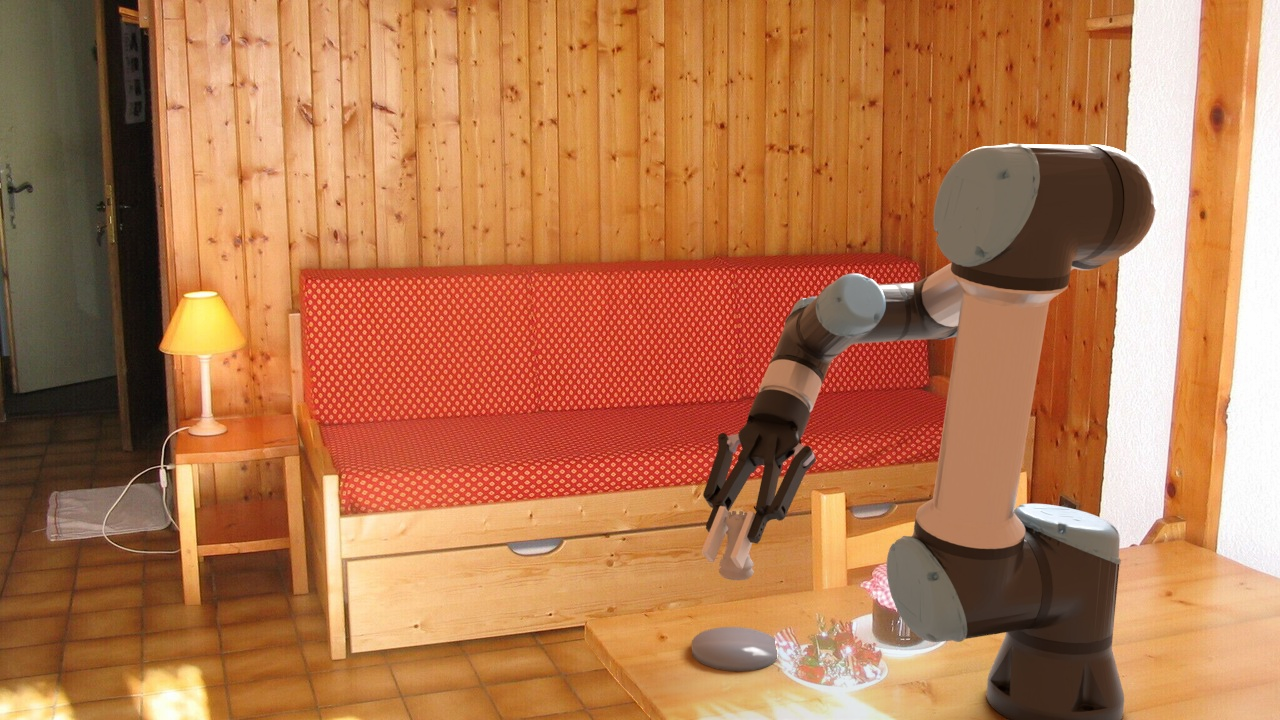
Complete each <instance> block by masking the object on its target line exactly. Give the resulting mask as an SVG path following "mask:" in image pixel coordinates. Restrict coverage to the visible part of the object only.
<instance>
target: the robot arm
mask: <svg viewBox="0 0 1280 720" xmlns="http://www.w3.org/2000/svg"><path fill="white" fill-rule="evenodd" d="M1156 211H1157V197H1156V191H1155V187H1154V184H1153V182H1152V179H1151V177H1150V175H1149V173H1148V172H1147V171H1146V169H1145V168H1144V166H1142V165H1141V163H1139V162H1138V161H1137V160H1136V159H1135V158H1134V157H1133V156H1131V155H1129V154H1127V153H1126V152H1124V151H1122V150H1120V149H1118V148H1115V147H1113V146H1107V145H1102V144H1078V145H1077V144H1076V145H1074V144H1070V145H1069V144H1027V143H1026V144H1024V143H1011V142H1009V143H1006V144H1000V145H991V146H990V145H989V146H988V145H987V146H981V147H977V148H974V149H971V150H969V151H968V152H966V153H964V154H963V155H961V157H960V158H959V160H958V161H955V162H954V163H953V164H952V166H951V167H949V169H948V171H947V173H946V174H945V175H944V176H943V179H942V182H941V184H940V187H939V189H938V192H937V194H936V199H935V203H934V207H933V230H934V231H935V232H936V233H938V234H937V236H936V238H935V241H936V243H937V246H938V248H939V250H940V251H941V253H942V255H943V256H944V257H945V258H946V259H947V260H949V261H950V263H949V264H946V265H945V266H943V267H942V268H940V269H938V270H937V271H935V272H934V273H932V274H930V275H928V276H927V277H924V278H923V279H921V280H919V281H918V280H917V281H916V282H915V281H914V282H902V283H901V282H899V283H898V282H897V283H877V282H876V281H875V280H874V279H872V278H871V277H870V278H869V277H867V276H865V275H863V274H861V273H847V274H844V275H842V276H840V277H838V278H837V279H836V280H835V281H833V282H832V283H830V284H828V285H827V286H826V287H825V288H824V289H823V290H821V292H820V294H818V295H817V296H809V297H808V298H806V297H803V298H801V299H799V300H797V301H796V303H794V306H793V307H792V309H791V311H790V314H788V316H787V317H786V319H785V322H784V326H783V329H782V332H781V335H780V338H779V340H778V342H777V345H776V347H775V349H774V352H773V354H772V357H771V359H770V361H769V364H768V367H767V368H766V371H765V373H764V376H763V378H762V381H761V383H760V386H759V387H758V393H757V394H756V396H755V398H754V401H753V402H752V405H751V408H750V410H749V412H748V414H747V415H748V416H747V420H746V423H745V425H744V426H743V427H742V428H741V429H740V430H739V432H738V433H736V434H731V435H727V434H726V433H725V432H721V433H719V435H718V436H717V444H718V449H717V452H716V455H715V458H714V461H713V464H712V466H711V470H710V472H709V476H708V479H707V482H706V485H705V487H704V491H703V494H702V495H703V498H704V500H705V501H706V503H707V504H708V506H709V507H710V509H711V508H712V510H711V512H710V514H709V517H708V519H707V522H706V524H705V529H706V530H707V532H708V535H707V537H706V539H705V541H704V544H703V546H702V549H701V553H702V554H703V555H704V557H705V558H706V560H707V561H708V562H710V563H715V561H716V558H717V556H718V553H719V551H720V549H721V546H722V544H723V542H724V538H725V536H726V535H727V534H726V531H727V530H728V526H727V525H726V523H725V522H724V521H725V519H726V518H727V517H728V512H730V510H731V508H732V507H733V505H734V503H735V502H736V500H737V498H738V496H739V495H740V493H741V491H742V489H743V488H744V486H745V485H746V482H747V481H748V479H750V477H751V475H752V474H753V473H755V472H756V470H757V468H758V467H760V466H761V467H762V466H763V472H762V475H761V480H760V485H759V490H758V493H757V494H758V495H757V499H756V500H757V501H756V505H753V509H754V511H755V512H754V511H749V510H748V511H747V512H746V513H747V516H746V518H745V521H744V523H743V526H742V529H741V531H740V534H739V536H738V539H737V541H736V544H735V546H734V549H733V551H732V554H731V556H730V558H731V559H732V561H733V562H734V564H735V565H736V567H737V568H742V569H743V566H744V564H745V561H746V559H747V556H748V553H750V550H751V548H752V545H753V544H759V542H760V541H761V539H762V536H763V533H764V531H765V528H766V527H767V523H769V522H770V521H773V520H777V521H783V520H784V519H785V517H786V516H787V514H788V513H789V509H790V507H791V505H792V503H793V501H794V498H795V496H796V494H797V493H798V490H799V488H800V485H801V483H802V481H803V479H804V477H805V475H806V473H807V471H808V470H809V469H811V467H812V466H813V465H814V464H815V463H816V461H817V458H816V456H815V454H814V452H813V450H812V447H810V446H809V445H805V446H804V445H802V437H803V436H804V433H805V430H806V428H807V426H808V423H809V421H810V417H811V412H812V411H813V409H814V406H815V404H816V402H817V399H818V396H819V394H820V390H821V388H822V385H823V383H824V380H825V378H826V375H827V373H828V370H829V368H830V366H831V364H832V361H833V360H835V358H836V357H837V356H839V355H841V354H842V353H843V352H844V351H846V350H847V349H848V348H849V347H850V346H852V345H857V344H869V343H870V344H871V343H887V342H889V343H890V342H900V341H901V342H902V341H917V340H918V341H919V340H920V341H921V340H923V341H925V340H938V341H941V340H943V341H944V340H947V339H949V338H955V344H954V348H953V349H954V350H953V357H952V364H951V365H952V366H951V371H950V377H949V383H948V391H947V396H946V397H947V398H946V405H945V412H944V421H943V427H942V433H941V440H940V447H939V451H938V452H939V454H938V460H937V466H936V473H935V481H934V487H933V494H932V498H931V499H930V500H928V501H926V502H924V503H923V504H921V505H920V506H919V507H918V509H917V510H916V513H915V514H916V515H915V518H914V526H913V533H912V535H911V536H910V535H909V536H908V535H903V536H901V537H900V538H898V539H896V541H894V543H892V544H891V545H890V547H889V550H888V553H887V557H886V578H887V583H888V588H889V593H890V595H891V598H892V600H893V603H894V606H895V608H896V610H897V613H898V614H899V616H900V618H901V619H902V621H903V623H904V625H905V626H907V628H908V629H909V630H910V631H911V632H912V633H914V635H915V636H917V638H920V639H922V640H923V641H926V642H931V643H942V642H956V643H958V642H959V643H961V642H963V641H964V640H966V639H972V638H974V639H975V638H979V637H986V636H993V635H998V634H1004V633H1005V636H1004V638H1003V639H1002V642H1001V646H1000V647H999V650H998V652H997V654H996V656H995V659H994V660H993V664H992V666H991V668H990V670H989V673H988V677H987V684H986V700H987V702H988V703H989V705H990V707H992V708H993V709H994V710H995V711H996V712H998V713H999V714H1000V715H1002V716H1004V717H1005V718H1007V719H1009V720H1122V719H1123V717H1124V707H1125V694H1124V690H1123V685H1122V682H1121V679H1120V675H1119V671H1118V670H1119V669H1118V666H1117V664H1116V658H1115V655H1114V652H1113V637H1114V624H1115V614H1116V613H1115V612H1116V606H1117V605H1116V604H1117V595H1118V592H1117V591H1118V583H1119V582H1118V581H1119V571H1120V565H1121V561H1122V560H1121V558H1120V543H1121V542H1120V538H1121V537H1120V534H1119V531H1118V529H1117V528H1116V526H1114V524H1112V523H1111V522H1110V521H1109V520H1106V519H1105V518H1102V517H1100V516H1097V515H1095V514H1092V513H1090V512H1087V511H1083V510H1079V509H1074V508H1071V507H1066V506H1060V505H1055V504H1054V505H1053V504H1046V503H1023V504H1020V505H1018V506H1017V507H1016V503H1017V496H1018V490H1019V484H1020V479H1021V473H1022V466H1023V460H1024V455H1025V449H1026V443H1027V437H1028V431H1029V425H1030V419H1031V413H1032V408H1033V401H1034V395H1035V390H1036V383H1037V377H1038V372H1039V366H1040V359H1041V354H1042V347H1043V342H1044V337H1045V335H1044V334H1045V331H1046V330H1045V329H1046V325H1047V324H1046V323H1047V317H1048V314H1049V313H1048V312H1049V306H1050V302H1051V301H1052V300H1053V299H1054V298H1055V297H1057V296H1059V295H1060V294H1062V293H1063V292H1065V291H1066V290H1068V287H1069V284H1070V283H1069V282H1070V277H1071V276H1070V275H1071V271H1073V270H1075V269H1076V270H1079V271H1091V270H1095V269H1098V268H1100V267H1103V266H1105V265H1106V264H1108V263H1111V262H1113V261H1115V260H1117V259H1119V258H1120V257H1122V256H1124V255H1126V254H1128V253H1129V252H1131V251H1132V250H1134V249H1135V248H1136V247H1137V246H1138V245H1140V243H1142V241H1143V240H1144V239H1145V237H1146V235H1147V234H1148V233H1149V231H1150V230H1151V227H1152V225H1153V223H1154V219H1155V215H1156ZM739 445H740V447H741V448H742V449H741V450H740V452H739V454H738V455H737V456H738V457H737V460H736V461H737V462H736V463H735V465H734V466H733V468H732V470H731V471H730V468H731V466H732V462H733V458H734V454H735V453H737V449H738V446H739ZM792 457H793V458H792ZM790 458H792V460H791V462H790V464H789V465H788V467H787V470H786V473H785V474H784V475H783V479H782V481H781V482H780V485H779V487H778V482H779V477H780V476H782V475H781V474H782V470H783V464H784V463H785V462H786V461H787V460H789V459H790ZM729 472H730V473H729ZM777 487H778V489H777ZM1122 716H1123V717H1122Z"/></svg>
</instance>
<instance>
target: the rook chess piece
mask: <svg viewBox="0 0 1280 720" xmlns="http://www.w3.org/2000/svg"><path fill="white" fill-rule="evenodd" d="M747 513H748V512H744V510H743V511H741V510H739V512H738V513H737V510H732V511H729V512H728V517H727V518H726V519H725V521H724V522H725V523H726V525H727V526H728V529H727V531H726V534H725V535H727V537H726V538H727V542H726V547H725V552H724V553H723V554H722V558H721V559H720V561H719V567H720V568H719V569H718V573H719V574H720V576H721V577H723V579H726V580H730V581H731V580H732V581H745V580H748V579H750V578H751V577H752V576H753V575H754V572H755V571H754V569H753V567H754V561H753V560H752V559H751V555H750V554H749V553H750V552H749V553H748V556H747V559H746V561H745V564H744V566H743V569H742V568H737V567H736V565H735V564H734V562H733V561H732V559H731V558H730V556H731V554H732V551H733V549H734V546H735V544H736V541H737V539H738V536H739V534H740V531H741V529H742V526H743V523H744V521H745V518H746V516H747Z"/></svg>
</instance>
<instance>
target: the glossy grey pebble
mask: <svg viewBox="0 0 1280 720" xmlns="http://www.w3.org/2000/svg"><path fill="white" fill-rule="evenodd" d="M775 639H776V638H775V637H773V636H772V635H770V634H769V633H766V632H764V631H762V630H757V629H753V628H748V627H740V626H723V627H715V628H710V629H707V630H703V631H701V632H699V633H697V634H696V635H694V637H693V638H692V640H691V654H692V658H694V659H695V660H696V661H697V662H698V663H700V664H702V665H704V666H706V667H708V668H713V669H716V670H722V671H726V672H727V671H729V672H748V671H749V672H751V671H757V670H760V669H764V668H767V667H769V666H771V665H773V664H775V663H776V661H777V660H778V659H777V650H776V646H775ZM776 659H777V660H776ZM775 660H776V661H775Z"/></svg>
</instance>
